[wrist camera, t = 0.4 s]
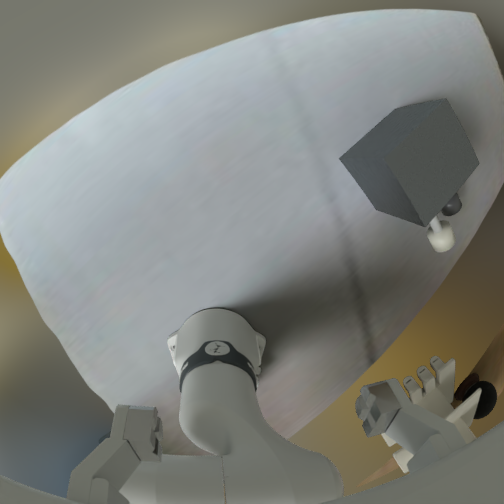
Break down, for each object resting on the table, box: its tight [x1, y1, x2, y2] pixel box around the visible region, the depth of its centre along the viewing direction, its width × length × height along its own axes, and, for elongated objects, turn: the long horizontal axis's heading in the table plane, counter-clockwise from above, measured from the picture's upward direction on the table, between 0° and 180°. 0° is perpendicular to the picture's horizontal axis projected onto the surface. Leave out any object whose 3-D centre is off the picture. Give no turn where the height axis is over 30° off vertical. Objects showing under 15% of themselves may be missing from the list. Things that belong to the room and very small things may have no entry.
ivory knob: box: [427, 215, 456, 252], centre depth 42 cm, size 10×5×5 cm, turn 42°
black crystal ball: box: [455, 373, 497, 419], centre depth 66 cm, size 13×13×15 cm
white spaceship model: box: [381, 356, 482, 473], centre depth 56 cm, size 26×31×35 cm
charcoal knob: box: [441, 192, 462, 216], centre depth 46 cm, size 10×5×5 cm, turn 42°
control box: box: [339, 99, 479, 227], centre depth 42 cm, size 12×16×15 cm
